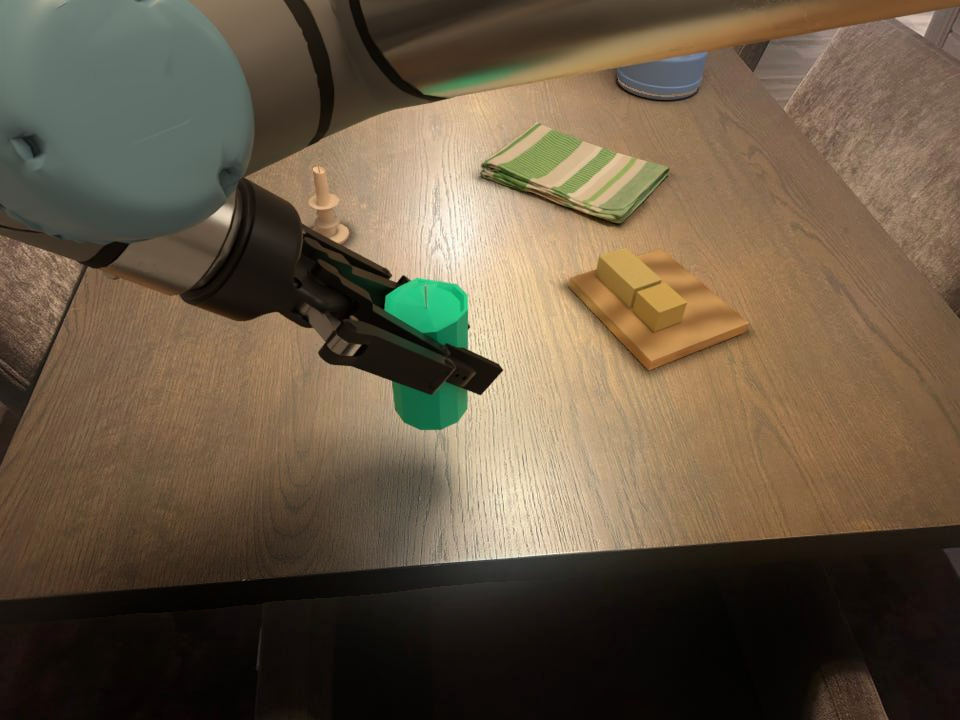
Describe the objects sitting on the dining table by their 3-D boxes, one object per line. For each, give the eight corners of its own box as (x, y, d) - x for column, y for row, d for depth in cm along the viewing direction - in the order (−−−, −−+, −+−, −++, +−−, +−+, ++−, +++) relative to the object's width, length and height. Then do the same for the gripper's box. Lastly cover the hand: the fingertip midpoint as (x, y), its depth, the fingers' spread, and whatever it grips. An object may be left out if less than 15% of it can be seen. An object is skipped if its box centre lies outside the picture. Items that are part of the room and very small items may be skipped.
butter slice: (681, 322, 76) (687, 302, 74) (653, 332, 75) (659, 312, 73) (659, 301, 79) (665, 281, 77) (631, 311, 78) (636, 291, 75)
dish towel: (618, 230, 92) (621, 212, 90) (476, 178, 101) (476, 161, 99) (668, 175, 103) (672, 159, 101) (536, 133, 111) (537, 117, 109)
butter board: (745, 332, 78) (749, 322, 77) (648, 370, 73) (651, 361, 72) (659, 257, 88) (661, 248, 87) (568, 287, 83) (570, 277, 82)
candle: (483, 401, 55) (487, 285, 46) (430, 443, 51) (423, 327, 43) (432, 365, 57) (427, 249, 49) (378, 402, 54) (363, 285, 46)
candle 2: (355, 229, 91) (346, 158, 83) (338, 251, 87) (327, 179, 80) (320, 222, 92) (308, 151, 84) (302, 243, 88) (288, 171, 81)
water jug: (601, 71, 130) (627, -101, 110) (673, 63, 133) (711, -105, 114) (638, 106, 119) (674, -78, 100) (715, 96, 123) (765, -83, 103)
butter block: (656, 299, 79) (662, 279, 77) (629, 309, 78) (634, 289, 76) (621, 266, 84) (626, 246, 81) (595, 275, 82) (598, 255, 80)
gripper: (143, 208, 43) (400, 325, 60) (200, 394, 31) (496, 472, 49) (206, 111, 41) (453, 260, 58) (291, 273, 30) (566, 398, 47)
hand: (473, 357), depth 53 cm, fingers closed on candle, 5 cm apart
